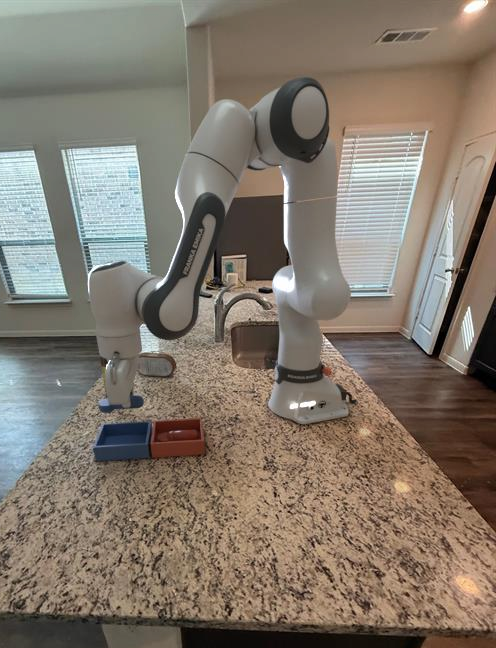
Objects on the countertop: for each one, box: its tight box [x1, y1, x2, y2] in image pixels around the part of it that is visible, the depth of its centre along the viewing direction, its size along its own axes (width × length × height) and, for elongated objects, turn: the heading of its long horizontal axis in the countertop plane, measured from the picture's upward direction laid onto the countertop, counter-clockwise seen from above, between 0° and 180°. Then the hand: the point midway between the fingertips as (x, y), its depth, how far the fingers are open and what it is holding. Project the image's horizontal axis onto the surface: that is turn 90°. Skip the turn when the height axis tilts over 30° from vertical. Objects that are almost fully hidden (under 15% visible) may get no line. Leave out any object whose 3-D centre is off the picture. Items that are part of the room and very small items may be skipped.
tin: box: [137, 352, 177, 378], centre depth 111 cm, size 15×3×8 cm, turn 80°
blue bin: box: [92, 420, 153, 462], centre depth 76 cm, size 12×10×4 cm
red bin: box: [150, 417, 206, 459], centre depth 77 cm, size 12×10×4 cm
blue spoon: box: [97, 394, 145, 414], centre depth 72 cm, size 10×4×3 cm, turn 94°
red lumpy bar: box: [158, 430, 199, 442], centre depth 77 cm, size 10×4×3 cm, turn 94°
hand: (128, 401), depth 72 cm, fingers closed on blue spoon, 3 cm apart
